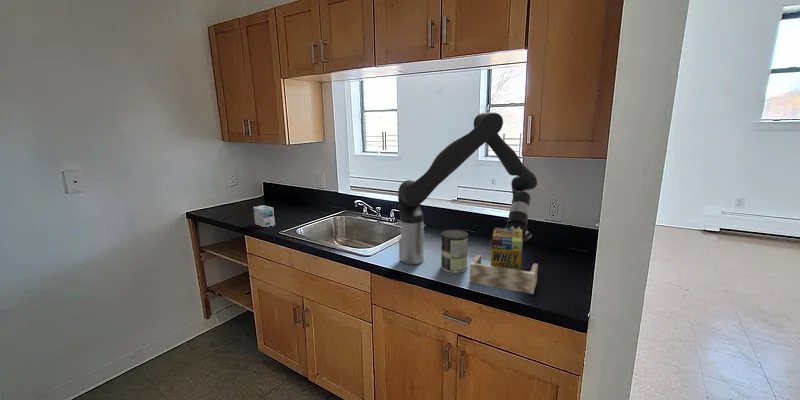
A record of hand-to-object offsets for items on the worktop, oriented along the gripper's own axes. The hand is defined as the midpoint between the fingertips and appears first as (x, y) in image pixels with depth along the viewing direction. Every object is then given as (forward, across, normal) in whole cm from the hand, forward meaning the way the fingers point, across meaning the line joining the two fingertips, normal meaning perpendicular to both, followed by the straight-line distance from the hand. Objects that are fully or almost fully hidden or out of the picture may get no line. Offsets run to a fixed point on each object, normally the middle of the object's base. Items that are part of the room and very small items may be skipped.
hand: (512, 252), depth 144 cm
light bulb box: (+1, -136, +7) cm, 136 cm away
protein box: (+10, -1, -2) cm, 10 cm away
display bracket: (+16, 0, -8) cm, 18 cm away
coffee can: (+12, -20, -4) cm, 24 cm away
